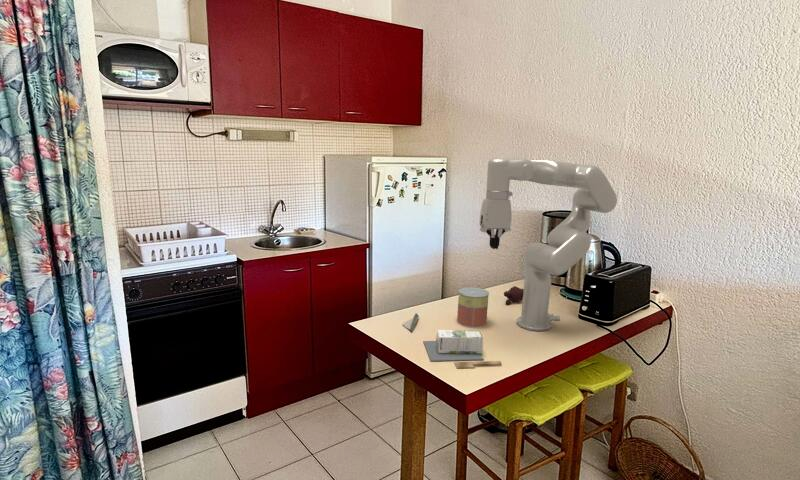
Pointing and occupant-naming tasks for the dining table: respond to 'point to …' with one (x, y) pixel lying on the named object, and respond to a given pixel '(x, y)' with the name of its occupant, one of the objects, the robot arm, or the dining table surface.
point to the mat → (448, 354)
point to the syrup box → (459, 341)
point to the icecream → (514, 295)
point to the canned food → (472, 307)
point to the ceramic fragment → (411, 323)
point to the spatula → (476, 364)
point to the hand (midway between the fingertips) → (494, 248)
